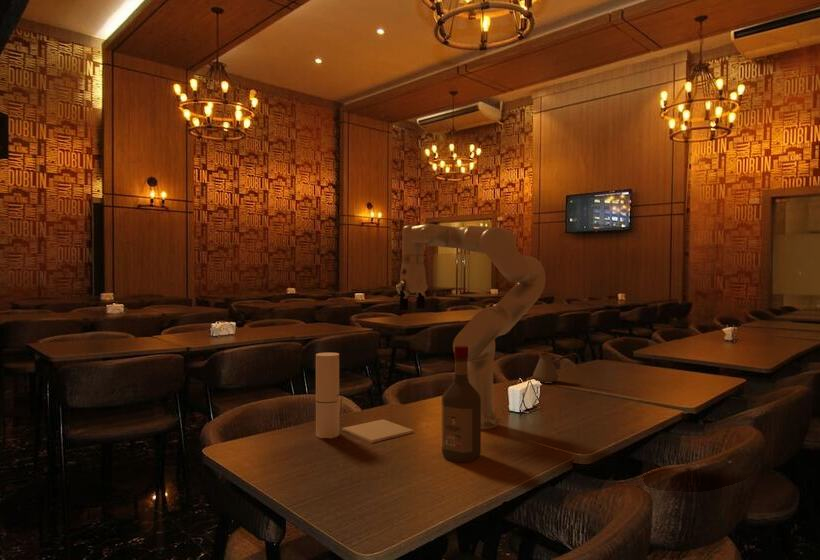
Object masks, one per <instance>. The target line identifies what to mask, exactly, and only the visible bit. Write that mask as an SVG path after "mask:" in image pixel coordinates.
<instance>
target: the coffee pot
mask: <svg viewBox="0 0 820 560" xmlns="http://www.w3.org/2000/svg"><path fill="white" fill-rule="evenodd" d="M576 355H577V356H579V354H578V353H577V352H573V353H572V352H571V353H569V354H566V355H563V356H560V357H559V358H554V359H552V358H553V356H554V354H553V353H549V352H539V353H538V356H539V360H538V362H537V364H536V366H535V369H534V371H533V374H532V377H533V379H534V378H535V379H537V380H539V381H540V382H542V383H541V384H545V382H554V381H555V382H556V381H558V379H559V377H560V376H559V374H558V371H557V369H556V367H555V364H554V362H557V361H560V360H564V359H567V358H568V359H569V358H570V357H573V356H575V357H577V356H576ZM535 379H534V380H535ZM537 380H536V381H537ZM543 382H544V383H543ZM555 382H554V383H555Z"/></svg>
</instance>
